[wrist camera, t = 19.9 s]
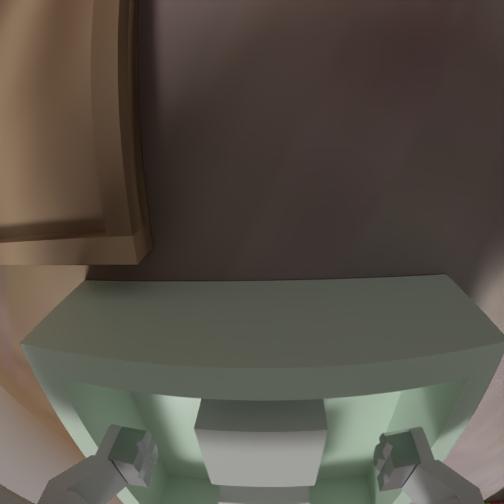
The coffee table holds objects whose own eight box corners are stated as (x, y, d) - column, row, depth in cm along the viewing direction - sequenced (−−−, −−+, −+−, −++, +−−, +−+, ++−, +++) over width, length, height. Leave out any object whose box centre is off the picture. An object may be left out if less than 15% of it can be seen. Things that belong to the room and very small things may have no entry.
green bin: (446, 274, 11) (509, 340, 7) (377, 470, 17) (388, 526, 12) (84, 280, 12) (20, 343, 8) (159, 470, 18) (143, 524, 13)
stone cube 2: (315, 350, 12) (327, 429, 8) (308, 414, 13) (314, 485, 10) (213, 350, 12) (193, 428, 8) (223, 414, 14) (211, 484, 10)
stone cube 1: (306, 437, 14) (309, 502, 10) (300, 472, 15) (302, 527, 12) (227, 437, 14) (217, 501, 11) (234, 471, 16) (227, 526, 12)
